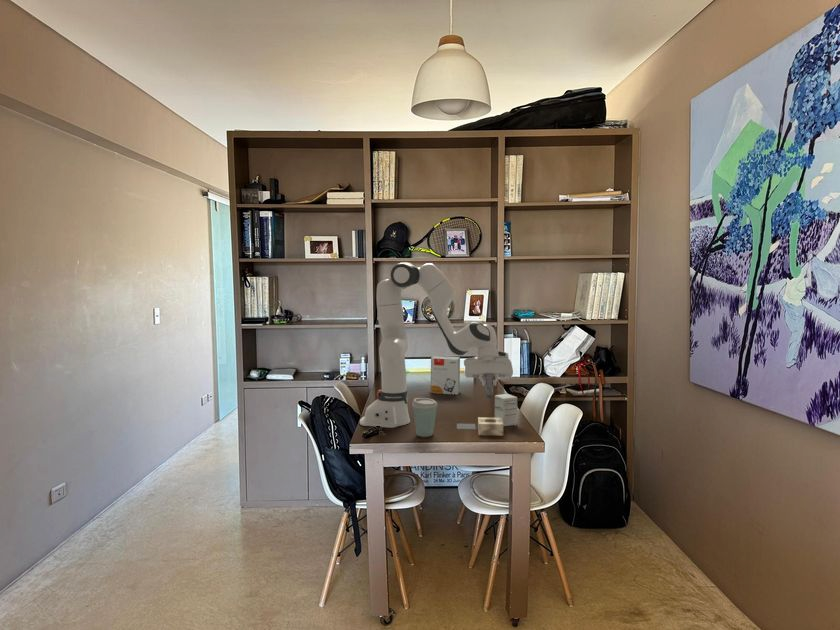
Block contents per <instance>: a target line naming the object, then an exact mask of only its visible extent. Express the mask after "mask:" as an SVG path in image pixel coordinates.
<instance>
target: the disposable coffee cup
mask: <svg viewBox="0 0 840 630" xmlns="http://www.w3.org/2000/svg"><path fill="white" fill-rule="evenodd" d="M411 406H412V413H413V419H414V425H415V426H414V428H415V432H416V435H417V437H423V438H427V437H431V436H433V434H434V428H435V424H436V423H435V422H436V416H437V410H438V409H437V408H438V401H436V400H435V399H432V398H427V397H416V398H413V401H412V403H411Z"/></svg>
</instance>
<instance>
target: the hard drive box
mask: <svg viewBox="0 0 840 630" xmlns="http://www.w3.org/2000/svg"><path fill="white" fill-rule="evenodd" d="M460 373H461V357H459V356H458V357H457V356H443V355H442V356H441V355H440V356H439V355H437V356H436V355H433V356H432V357H430V393H431V394H435V395H436V394H440V395H451V394H452V395H454V394H455V395H456V396H457V395H459V394H460V392H461V391H460V388H461V385H460V383H461V379H460V377H461V375H460Z"/></svg>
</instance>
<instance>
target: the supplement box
mask: <svg viewBox="0 0 840 630" xmlns="http://www.w3.org/2000/svg"><path fill="white" fill-rule="evenodd" d="M494 418H502V421H503V427H507V426H512V427H513V425H514V426H517V424H518V420H517V419H518V397H517V396H515V395H512V394H509V393H504V394H496V395H495V394H494Z"/></svg>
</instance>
